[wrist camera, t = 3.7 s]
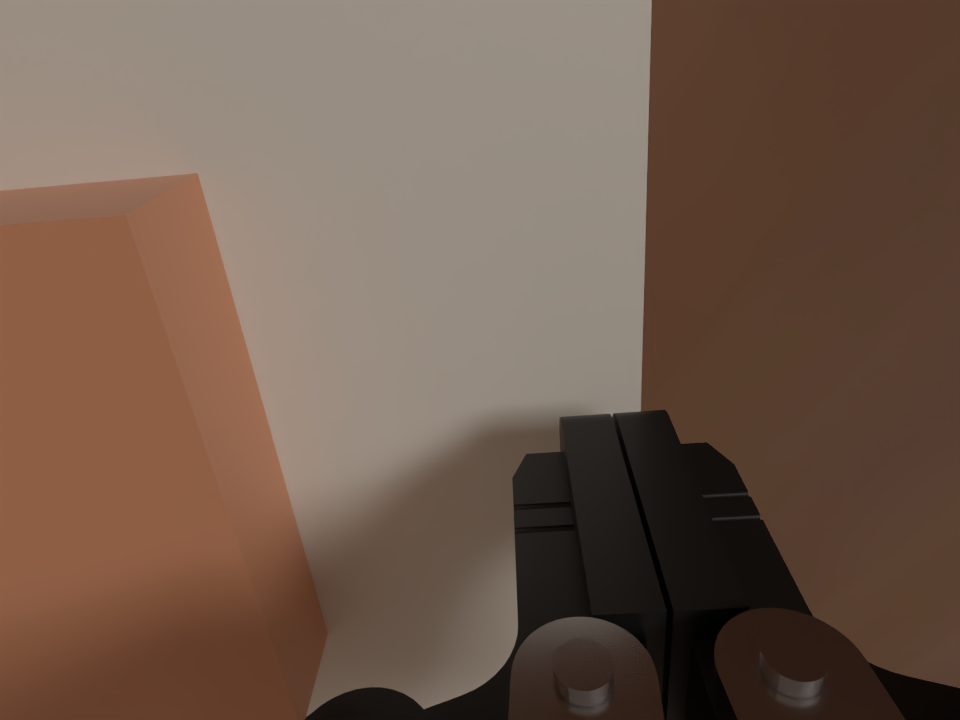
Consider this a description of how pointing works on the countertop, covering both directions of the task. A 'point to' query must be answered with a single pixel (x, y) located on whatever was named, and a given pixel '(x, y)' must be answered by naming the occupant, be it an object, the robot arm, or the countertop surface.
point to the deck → (382, 262)
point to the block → (139, 472)
